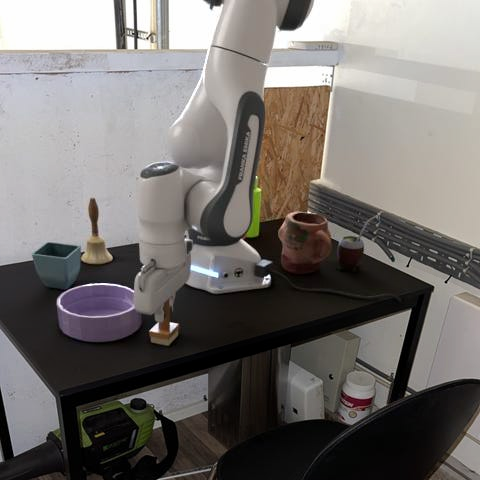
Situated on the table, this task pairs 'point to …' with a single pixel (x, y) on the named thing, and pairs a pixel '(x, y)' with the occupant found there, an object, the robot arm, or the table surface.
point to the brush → (164, 329)
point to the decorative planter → (304, 242)
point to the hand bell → (95, 240)
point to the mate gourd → (351, 250)
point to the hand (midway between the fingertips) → (164, 316)
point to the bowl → (98, 312)
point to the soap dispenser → (255, 212)
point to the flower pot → (57, 264)
